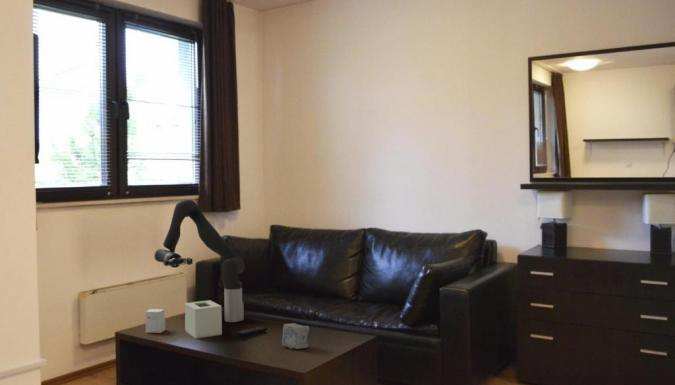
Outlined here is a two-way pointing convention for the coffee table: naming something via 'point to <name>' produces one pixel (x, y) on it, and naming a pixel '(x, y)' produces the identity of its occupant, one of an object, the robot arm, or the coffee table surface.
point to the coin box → (203, 319)
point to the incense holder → (295, 336)
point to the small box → (155, 320)
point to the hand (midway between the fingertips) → (182, 263)
